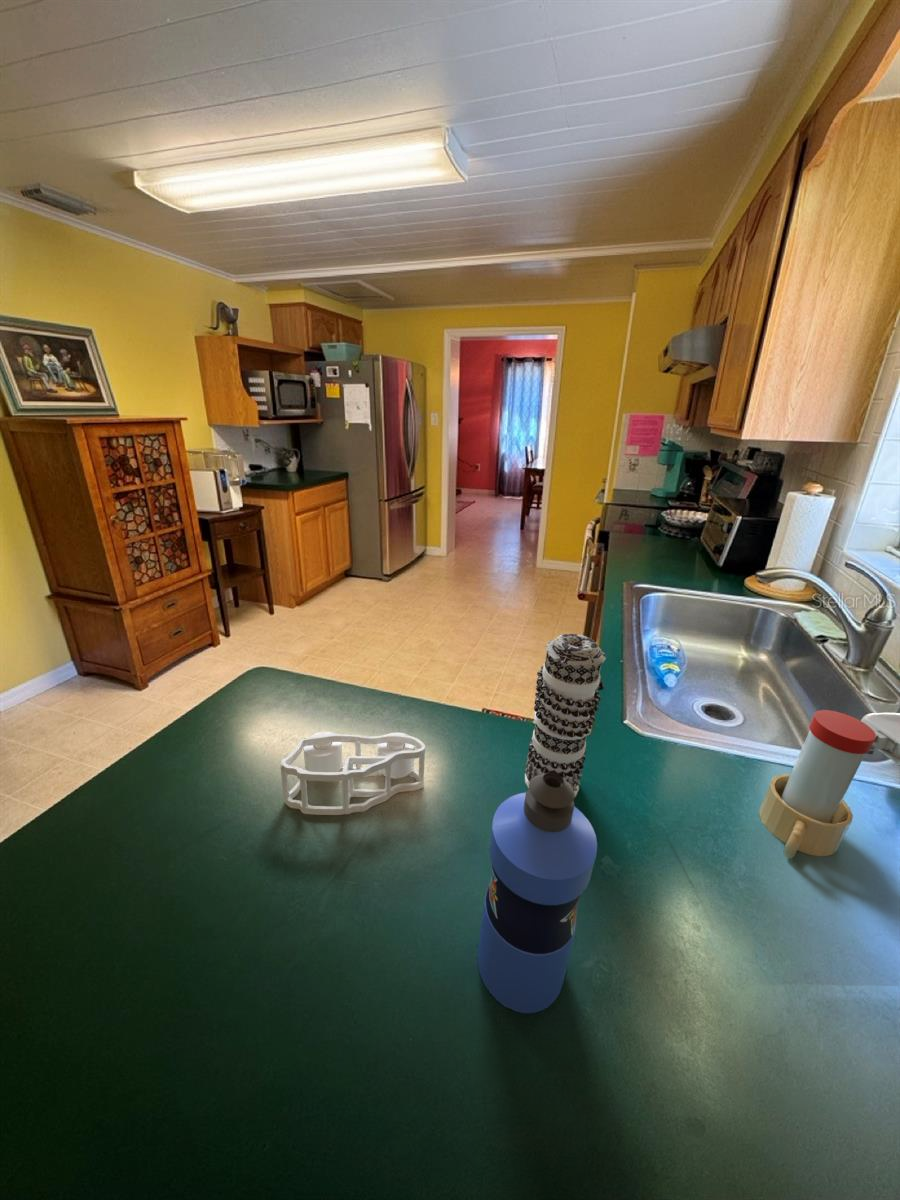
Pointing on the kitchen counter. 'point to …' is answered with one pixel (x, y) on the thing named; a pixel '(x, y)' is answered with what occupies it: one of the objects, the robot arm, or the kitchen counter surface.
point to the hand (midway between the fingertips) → (890, 769)
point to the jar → (827, 764)
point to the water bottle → (534, 893)
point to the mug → (802, 824)
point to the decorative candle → (565, 708)
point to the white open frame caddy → (352, 769)
